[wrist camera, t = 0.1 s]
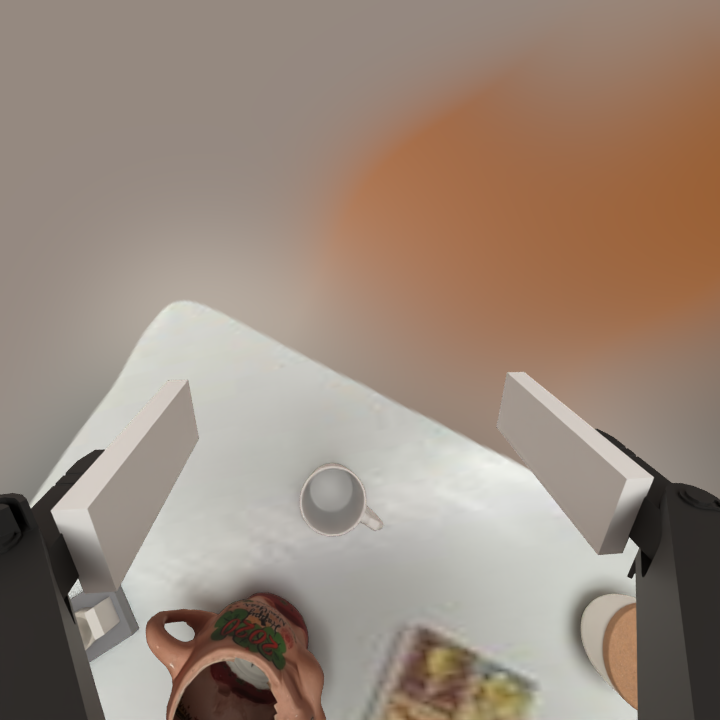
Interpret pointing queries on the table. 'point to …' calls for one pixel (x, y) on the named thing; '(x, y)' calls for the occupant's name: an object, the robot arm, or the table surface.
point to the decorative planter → (240, 663)
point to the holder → (103, 620)
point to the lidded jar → (613, 642)
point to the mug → (335, 502)
